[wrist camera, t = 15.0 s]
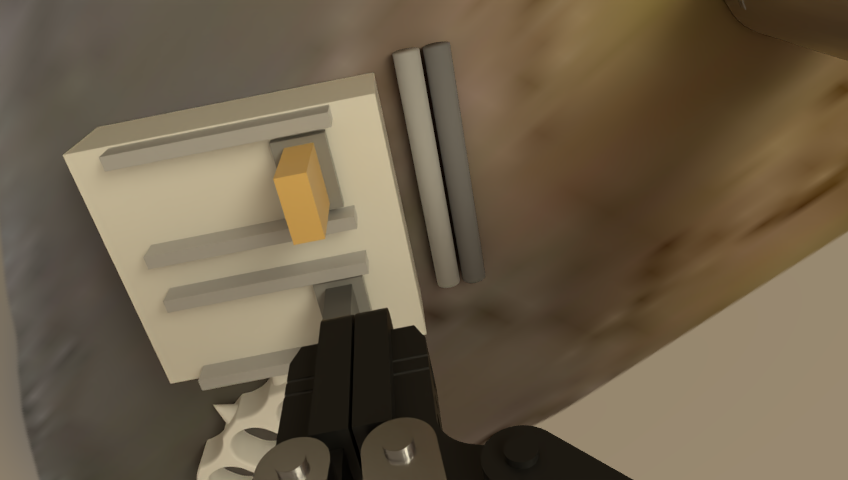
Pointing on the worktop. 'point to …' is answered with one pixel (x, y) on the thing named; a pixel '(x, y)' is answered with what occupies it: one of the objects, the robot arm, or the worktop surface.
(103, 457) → the worktop surface
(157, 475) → the worktop surface
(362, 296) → the toggle
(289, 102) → the breaker housing
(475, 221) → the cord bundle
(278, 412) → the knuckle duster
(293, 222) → the breaker toggle
